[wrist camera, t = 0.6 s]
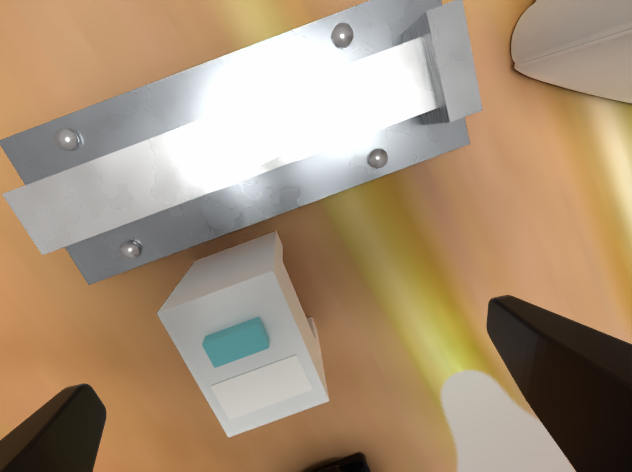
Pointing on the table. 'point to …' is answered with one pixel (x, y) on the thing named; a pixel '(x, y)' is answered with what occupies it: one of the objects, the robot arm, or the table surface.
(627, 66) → the photo printer
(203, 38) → the table surface
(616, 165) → the table surface
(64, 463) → the robot arm
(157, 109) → the rail panel
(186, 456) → the table surface
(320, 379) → the module
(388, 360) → the table surface
